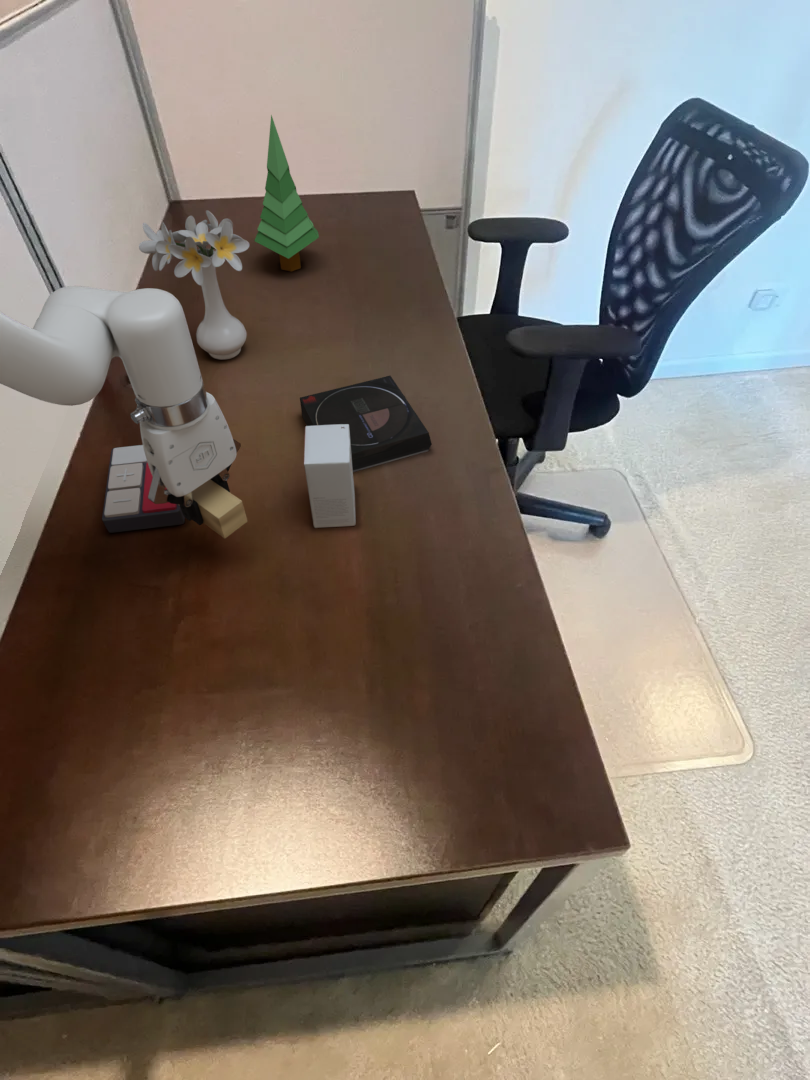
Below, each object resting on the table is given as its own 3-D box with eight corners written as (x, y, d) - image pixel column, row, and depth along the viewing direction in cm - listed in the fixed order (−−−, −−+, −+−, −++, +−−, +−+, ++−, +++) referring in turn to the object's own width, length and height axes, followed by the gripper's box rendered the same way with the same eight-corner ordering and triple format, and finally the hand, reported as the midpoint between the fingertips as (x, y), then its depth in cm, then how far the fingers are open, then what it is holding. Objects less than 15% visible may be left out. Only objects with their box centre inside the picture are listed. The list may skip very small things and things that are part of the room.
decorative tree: (319, 247, 156) (305, 99, 133) (323, 281, 146) (308, 127, 123) (260, 251, 155) (236, 102, 132) (260, 285, 144) (233, 130, 122)
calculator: (99, 517, 95) (109, 444, 104) (109, 536, 98) (118, 463, 107) (178, 508, 96) (181, 436, 105) (185, 527, 100) (188, 455, 109)
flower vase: (183, 331, 133) (146, 200, 114) (275, 334, 132) (253, 204, 113) (163, 370, 124) (120, 236, 105) (261, 374, 124) (236, 239, 105)
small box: (313, 490, 104) (304, 424, 94) (354, 488, 104) (349, 422, 94) (312, 529, 99) (303, 464, 89) (355, 527, 99) (350, 461, 89)
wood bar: (247, 521, 90) (242, 500, 87) (224, 539, 88) (218, 518, 85) (195, 484, 94) (188, 463, 91) (172, 500, 92) (164, 479, 89)
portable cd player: (431, 450, 110) (432, 431, 107) (332, 477, 106) (330, 459, 103) (393, 393, 120) (393, 374, 117) (302, 416, 116) (299, 397, 113)
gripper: (131, 451, 71) (176, 560, 85) (250, 378, 79) (273, 488, 93) (90, 422, 74) (140, 531, 88) (209, 355, 83) (237, 464, 96)
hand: (208, 508), depth 91 cm, fingers closed on wood bar, 4 cm apart
